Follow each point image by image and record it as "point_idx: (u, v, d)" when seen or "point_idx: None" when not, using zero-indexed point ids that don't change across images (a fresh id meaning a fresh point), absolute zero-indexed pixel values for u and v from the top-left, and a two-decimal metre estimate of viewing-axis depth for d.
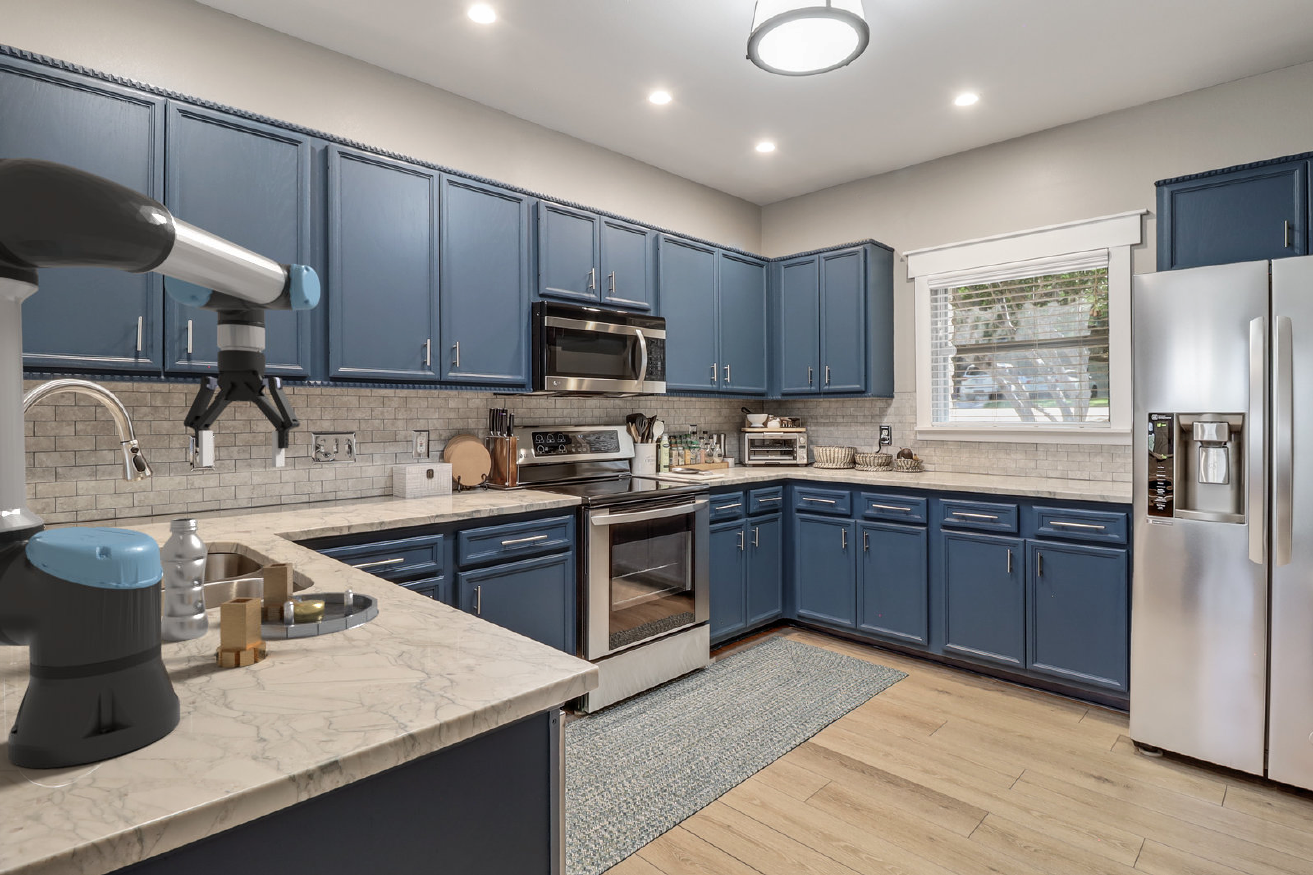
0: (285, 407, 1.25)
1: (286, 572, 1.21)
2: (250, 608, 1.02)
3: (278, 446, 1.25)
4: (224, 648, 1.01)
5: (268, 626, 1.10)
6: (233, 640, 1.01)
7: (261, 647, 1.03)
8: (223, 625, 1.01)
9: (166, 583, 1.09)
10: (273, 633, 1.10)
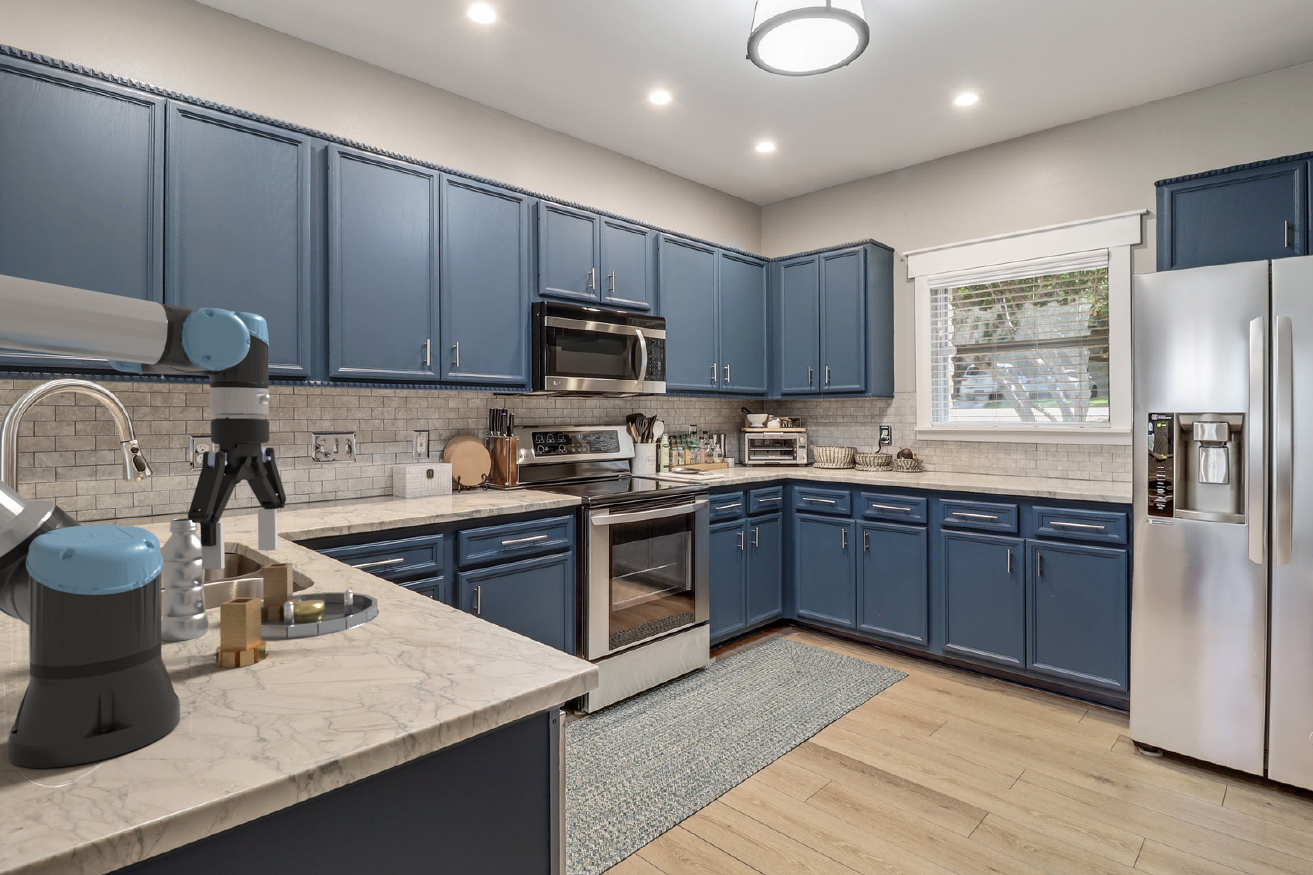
0: (197, 492, 0.94)
1: (286, 572, 1.21)
2: (250, 608, 1.02)
3: None
4: (224, 648, 1.01)
5: (268, 626, 1.10)
6: (233, 640, 1.01)
7: (261, 647, 1.03)
8: (223, 625, 1.01)
9: (166, 583, 1.09)
10: (273, 633, 1.10)
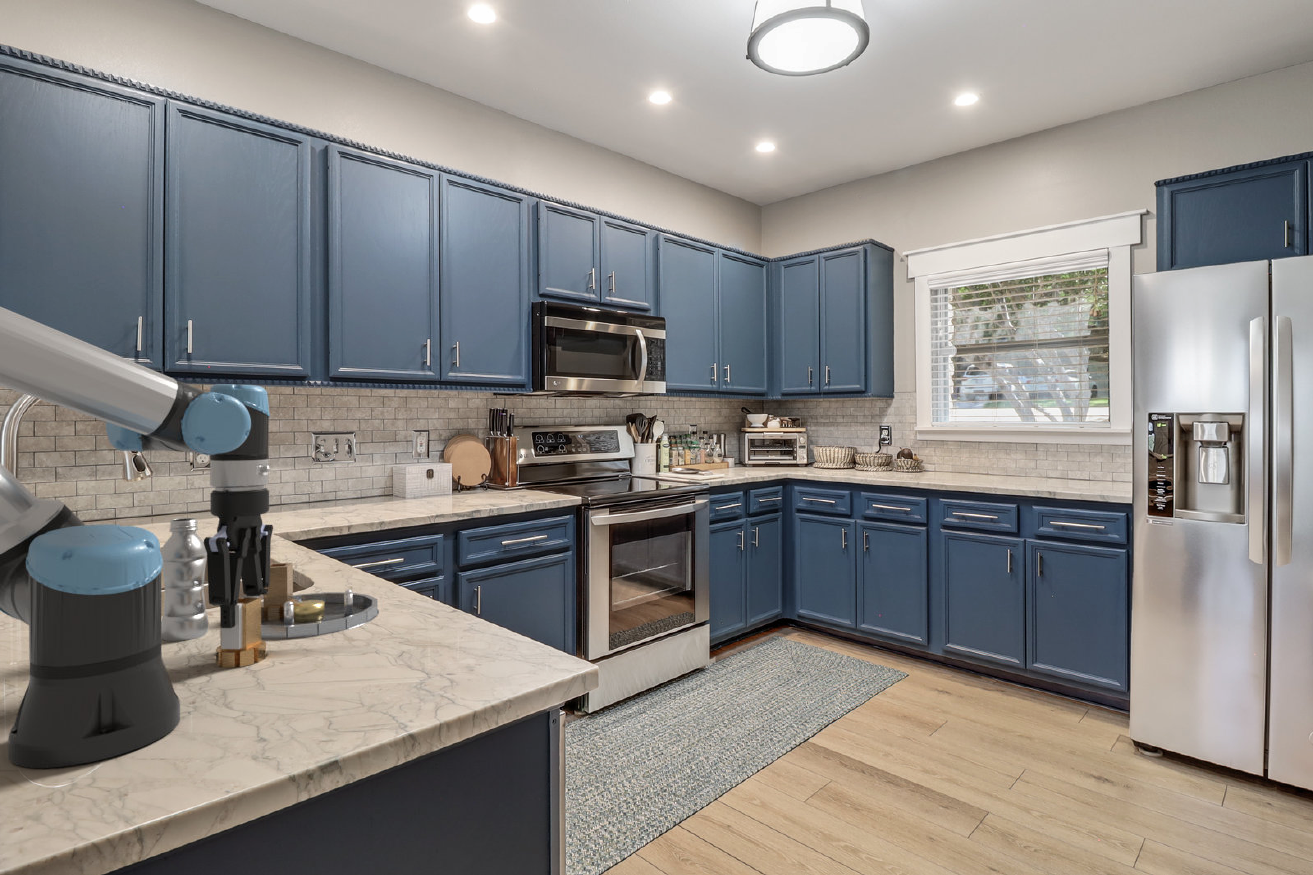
0: (210, 579, 0.97)
1: (286, 572, 1.21)
2: (250, 608, 1.02)
3: None
4: None
5: (268, 626, 1.10)
6: None
7: (261, 647, 1.03)
8: None
9: (166, 583, 1.09)
10: (273, 633, 1.10)
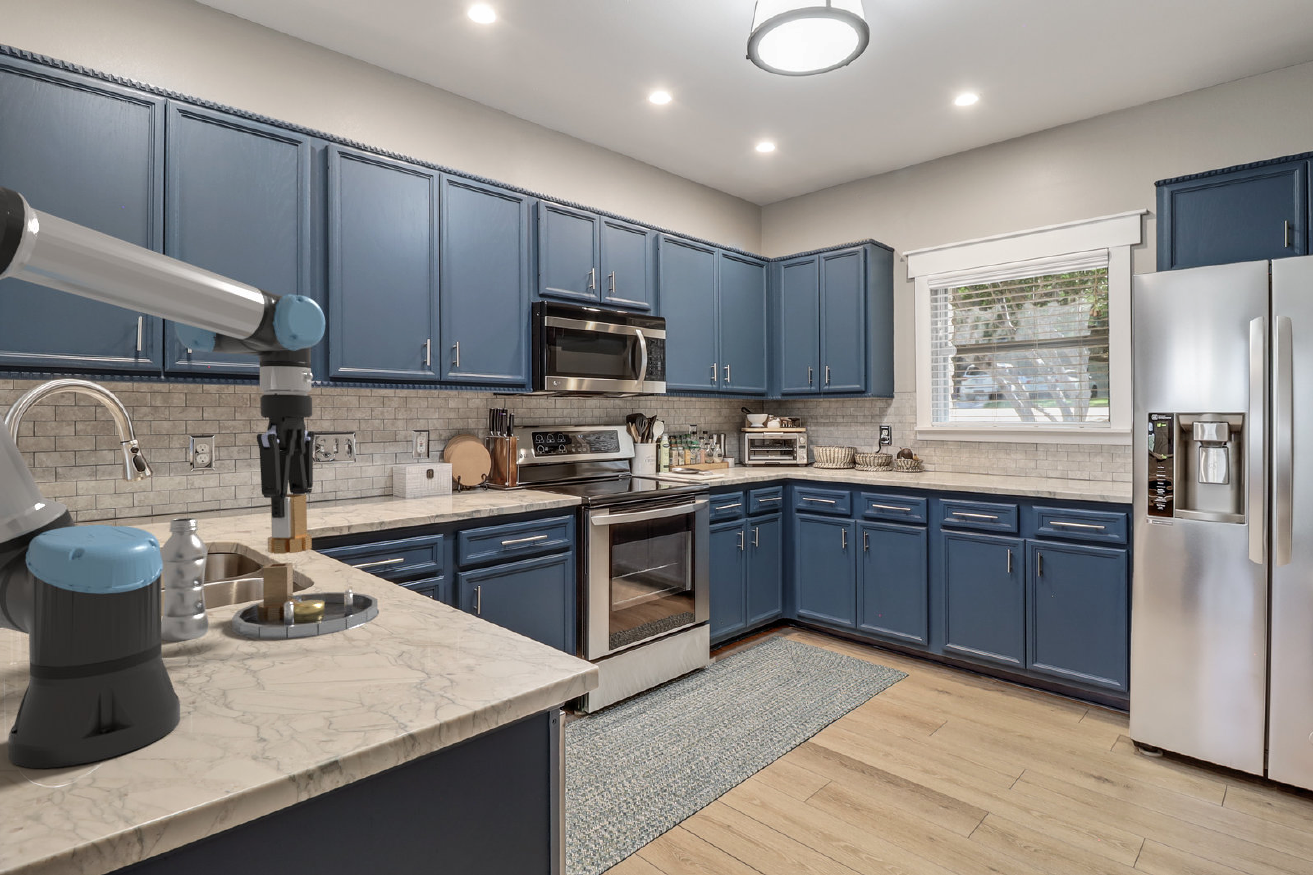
0: (262, 472, 1.08)
1: (286, 572, 1.21)
2: (298, 502, 1.13)
3: None
4: None
5: (268, 626, 1.10)
6: None
7: (308, 538, 1.14)
8: None
9: (166, 583, 1.09)
10: (273, 633, 1.10)
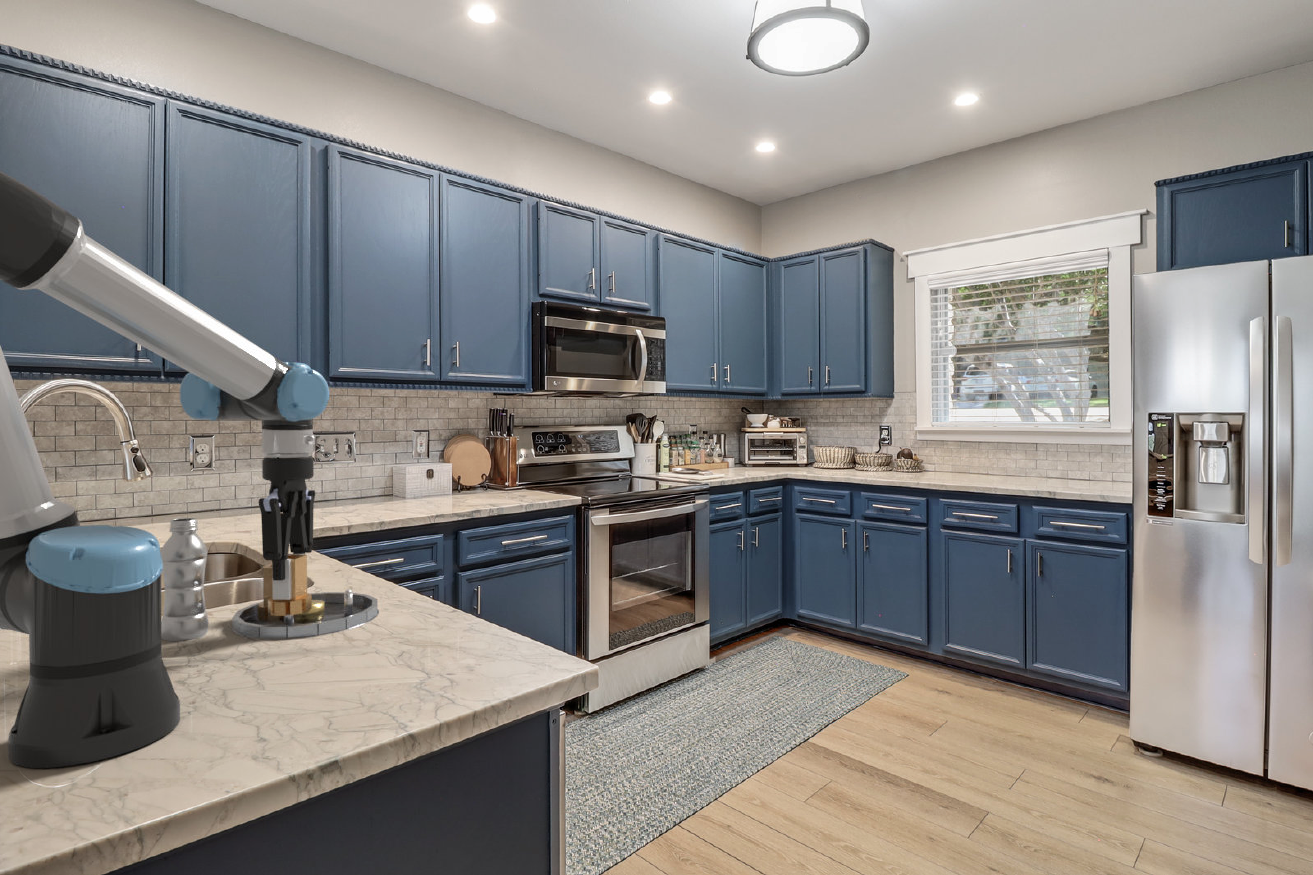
0: (264, 536, 1.09)
1: None
2: (298, 563, 1.14)
3: None
4: None
5: (268, 626, 1.10)
6: None
7: (308, 598, 1.14)
8: None
9: (166, 583, 1.09)
10: (273, 633, 1.10)
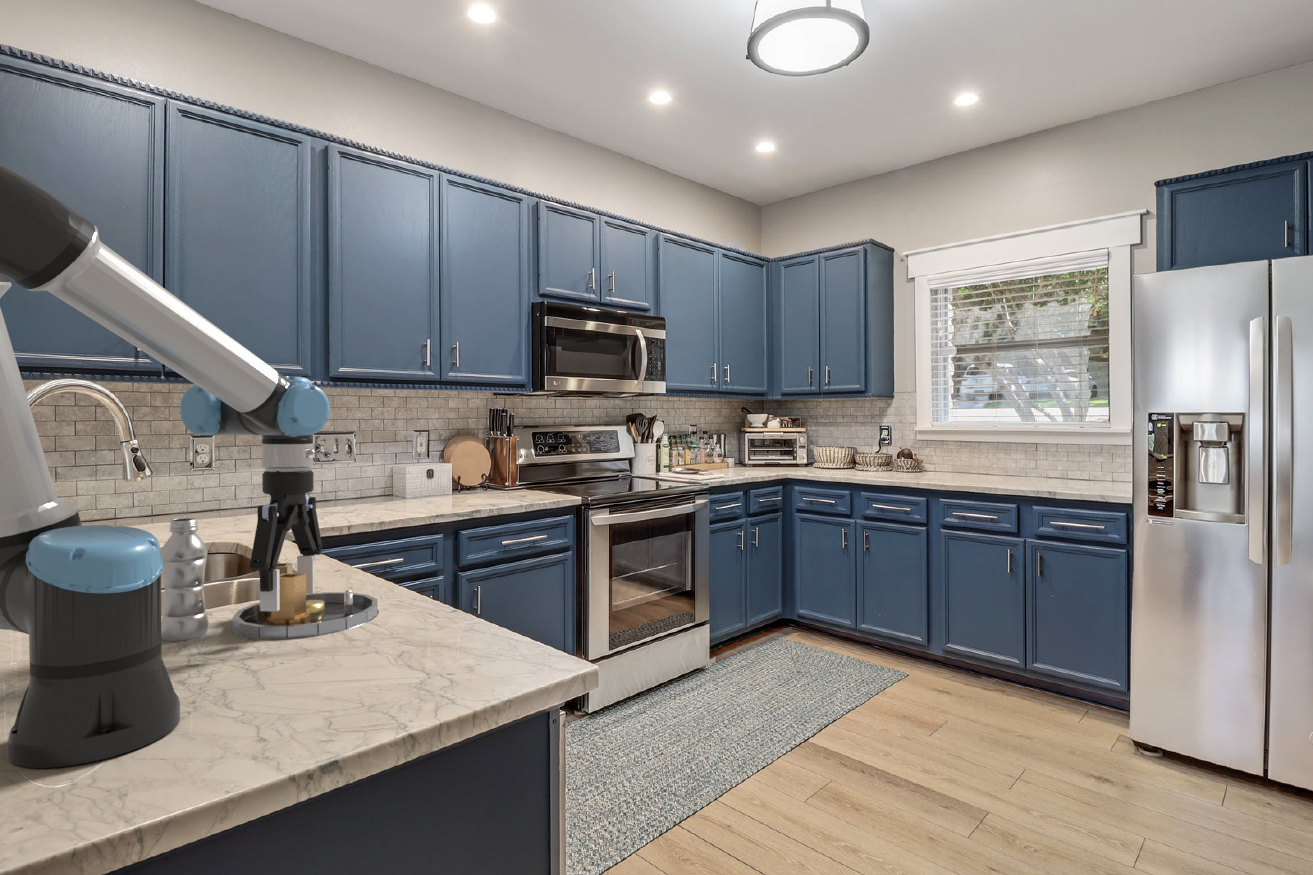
0: (255, 544, 1.06)
1: (286, 572, 1.21)
2: (298, 582, 1.14)
3: None
4: (274, 618, 1.13)
5: (268, 626, 1.10)
6: (282, 611, 1.13)
7: (307, 617, 1.14)
8: None
9: (166, 583, 1.09)
10: (273, 633, 1.10)
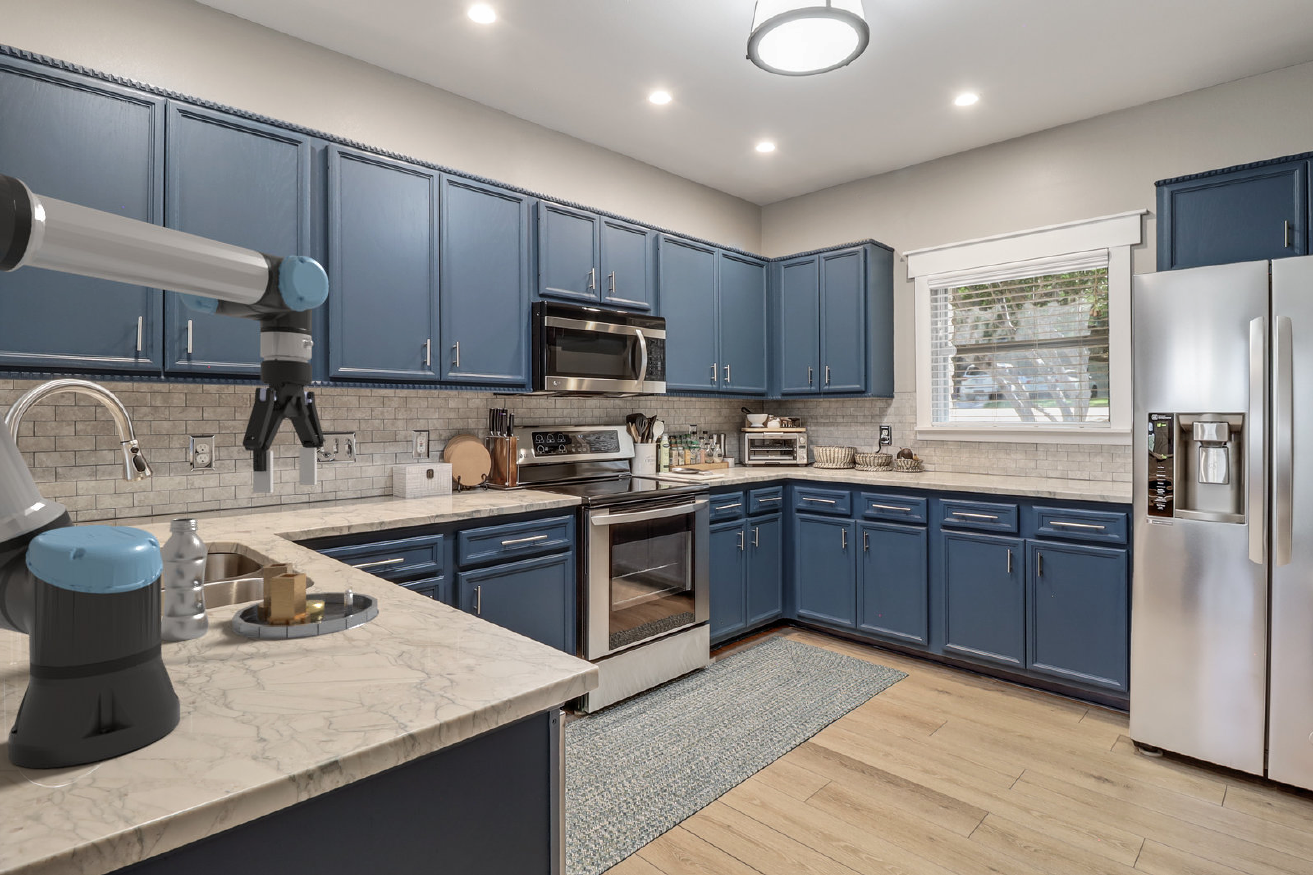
0: (250, 423, 1.05)
1: (286, 572, 1.21)
2: (298, 582, 1.14)
3: None
4: (274, 618, 1.13)
5: (268, 626, 1.10)
6: (282, 611, 1.13)
7: (307, 617, 1.14)
8: (273, 597, 1.12)
9: (166, 583, 1.09)
10: (273, 633, 1.10)
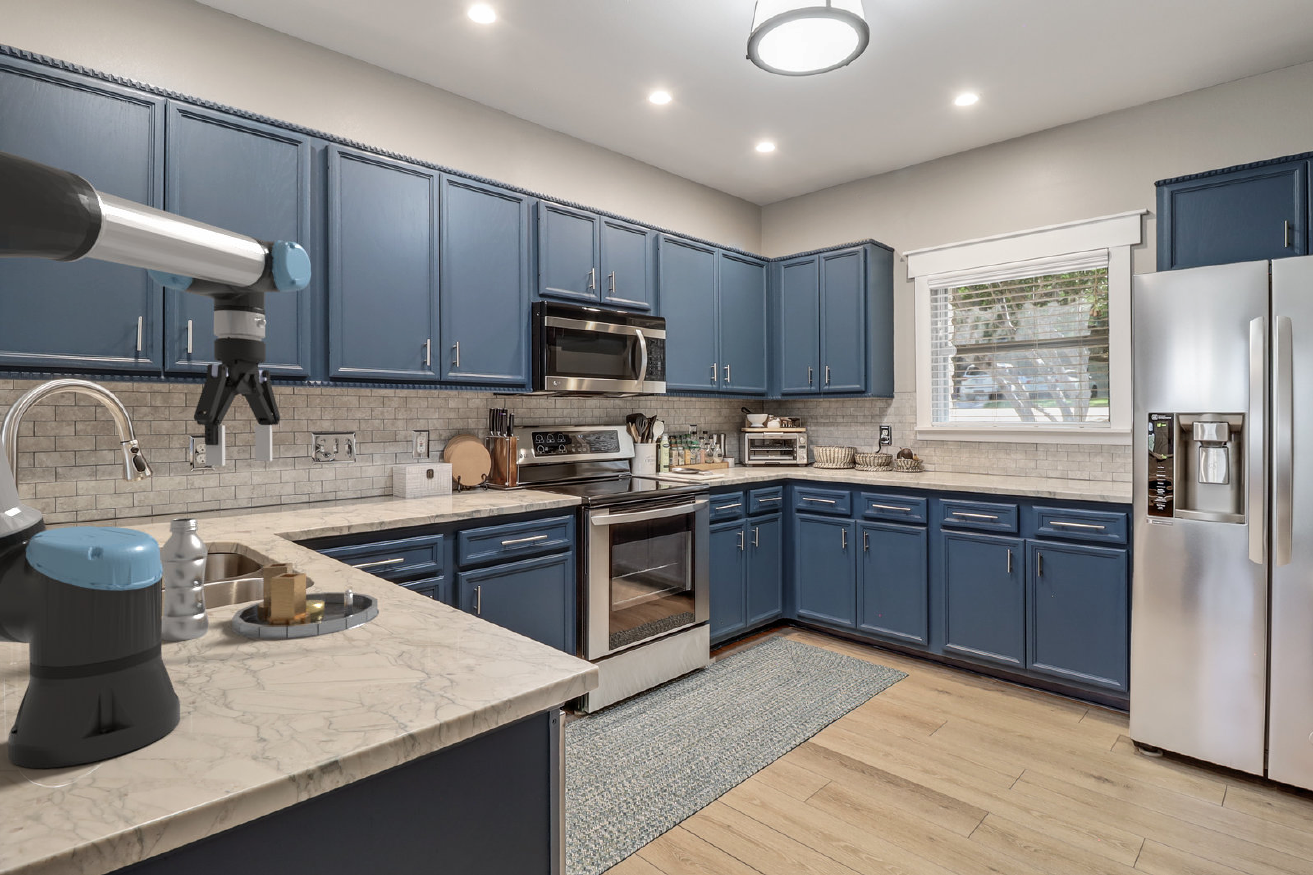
0: (202, 397, 1.09)
1: (286, 572, 1.21)
2: (298, 582, 1.14)
3: None
4: (274, 618, 1.13)
5: (268, 626, 1.10)
6: (282, 611, 1.13)
7: (307, 617, 1.14)
8: (273, 597, 1.12)
9: (166, 583, 1.09)
10: (273, 633, 1.10)
